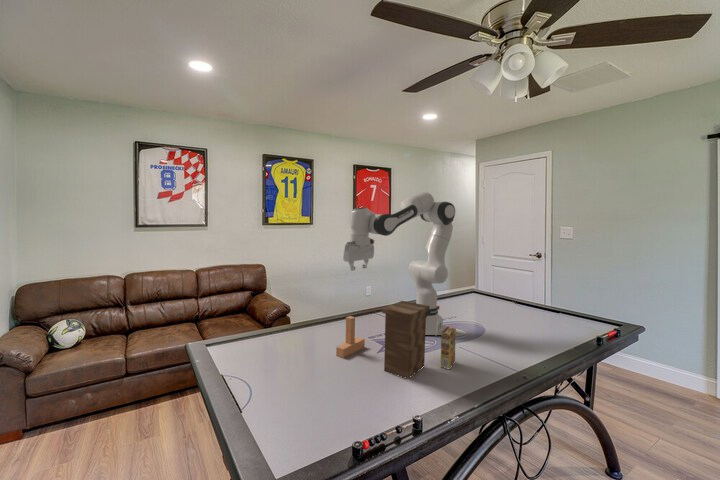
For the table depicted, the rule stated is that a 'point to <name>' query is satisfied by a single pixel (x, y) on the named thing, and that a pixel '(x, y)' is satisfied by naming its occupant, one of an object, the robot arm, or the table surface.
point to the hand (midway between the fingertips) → (358, 269)
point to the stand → (404, 338)
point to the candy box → (448, 347)
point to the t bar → (350, 340)
